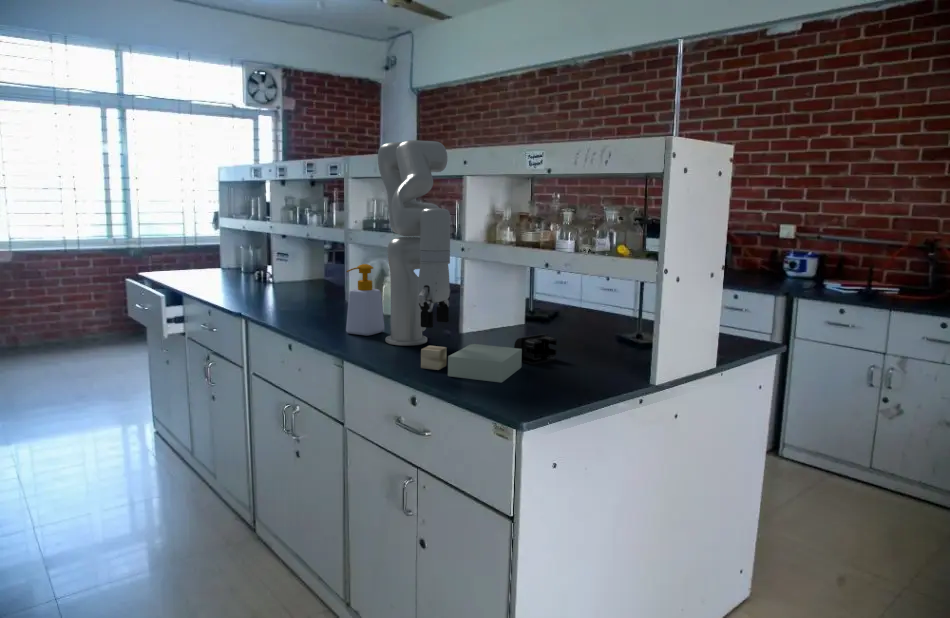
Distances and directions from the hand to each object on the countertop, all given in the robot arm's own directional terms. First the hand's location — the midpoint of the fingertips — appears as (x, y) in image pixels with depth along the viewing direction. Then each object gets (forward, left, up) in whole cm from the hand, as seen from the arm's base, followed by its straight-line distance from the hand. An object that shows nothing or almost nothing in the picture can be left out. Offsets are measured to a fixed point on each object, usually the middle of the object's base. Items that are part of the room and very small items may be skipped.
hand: (434, 324), depth 172 cm
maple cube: (-1, 0, -11) cm, 11 cm away
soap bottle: (-29, -38, -12) cm, 49 cm away
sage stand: (-2, +14, -11) cm, 18 cm away
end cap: (-20, +22, -12) cm, 31 cm away
